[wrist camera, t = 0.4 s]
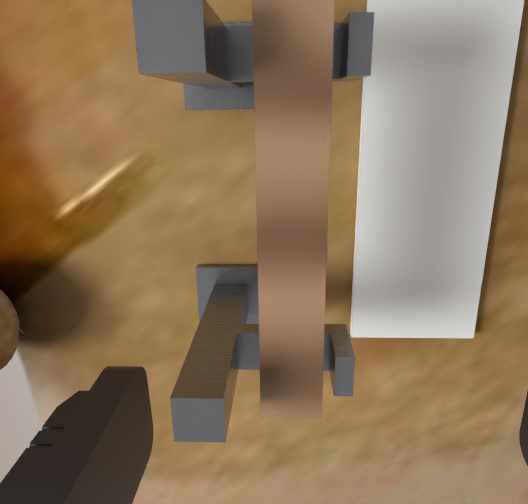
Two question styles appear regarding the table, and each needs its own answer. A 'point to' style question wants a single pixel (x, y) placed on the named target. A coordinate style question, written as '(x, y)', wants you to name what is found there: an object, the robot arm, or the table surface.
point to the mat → (430, 163)
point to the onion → (8, 330)
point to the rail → (292, 198)
